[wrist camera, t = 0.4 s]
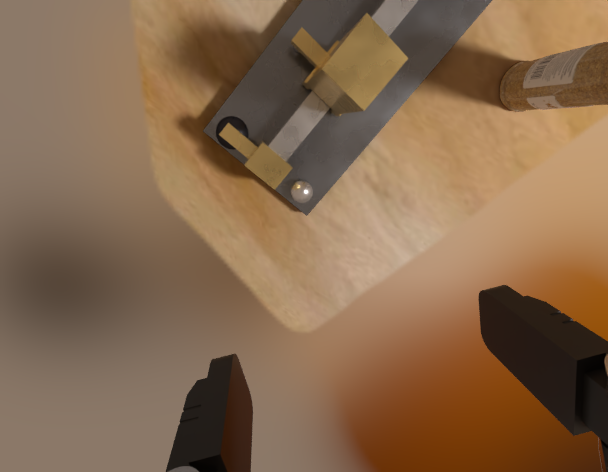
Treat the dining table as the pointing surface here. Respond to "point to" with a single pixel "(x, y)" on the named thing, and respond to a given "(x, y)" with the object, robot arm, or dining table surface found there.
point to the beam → (301, 115)
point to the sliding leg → (351, 66)
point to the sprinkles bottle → (558, 80)
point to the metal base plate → (330, 129)
